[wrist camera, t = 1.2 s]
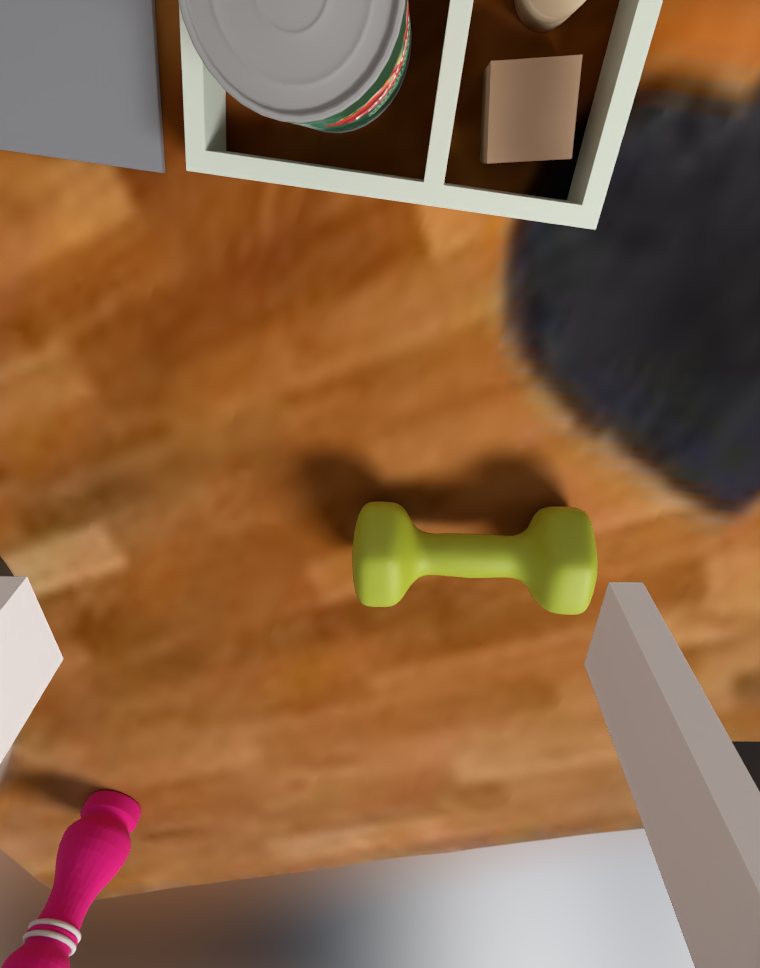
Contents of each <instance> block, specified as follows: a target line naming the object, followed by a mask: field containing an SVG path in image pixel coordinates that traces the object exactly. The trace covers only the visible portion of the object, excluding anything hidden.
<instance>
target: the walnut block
mask: <svg viewBox="0 0 760 968" xmlns="http://www.w3.org/2000/svg"><path fill="white" fill-rule="evenodd" d="M582 56H583V55H569V56H554V57H540V58H526V59H512V60H498V61H491V62H490V63H489V64H488V66H487V67H486V68H485V70H484V71H483V82H482V112H481V142H480V163H486V164H489V163H506V162H524V161H542V160H560V159H572V152H573V142H574V133H575V123H576V113H577V104H578V94H579V85H580V75H581V65H582Z"/></svg>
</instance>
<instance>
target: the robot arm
mask: <svg viewBox="0 0 760 968" xmlns="http://www.w3.org/2000/svg"><path fill="white" fill-rule="evenodd" d="M62 660H63V657H62V654H61V652H60V650H59V648H58V645H57V643H56V641H55V639H54V636H53V634H52V632H51V630H50V627H49V625H48V623H47V621H46V618H45V616H44V614H43V612H42V609H41V607H40V605H39V603H38V600H37V598H36V596H35V594H34V591H33V589H32V587H31V585H30V582H29V580H28V578H27V577H13V575H12V573H11V572H10V570H9V569H8V567H7V566H6V565H5V563H4V562H3V561H2V560H1V559H0V764H1V762H2V760H3V759H4V757H5V755H6V754H7V752H8V750H9V749H10V747H11V745H12V744H13V742H14V740H15V739H16V737H17V735H18V734H19V732H20V730H21V729H22V727H23V725H24V724H25V722H26V720H27V719H28V717H29V715H30V714H31V712H32V710H33V709H34V707H35V705H36V704H37V702H38V700H39V699H40V697H41V695H42V694H43V692H44V690H45V689H46V687H47V685H48V684H49V682H50V680H51V679H52V677H53V675H54V674H55V672H56V670H57V669H58V667H59V665H60V664H61V662H62ZM584 665H585V668H586V670H587V673H588V676H589V679H590V681H591V684H592V687H593V690H594V692H595V695H596V698H597V700H598V703H599V706H600V709H601V711H602V714H603V717H604V720H605V722H606V725H607V728H608V731H609V733H610V736H611V739H612V742H613V744H614V747H615V750H616V752H617V755H618V758H619V761H620V763H621V766H622V769H623V772H624V774H625V777H626V780H627V783H628V785H629V788H630V791H631V793H632V796H633V799H634V802H635V804H636V807H637V810H638V813H639V815H640V818H641V821H642V824H643V826H644V829H645V832H646V835H647V837H648V840H649V842H650V845H651V848H652V851H653V854H654V856H655V859H656V862H657V865H658V867H659V870H660V873H661V876H662V878H663V881H664V884H665V886H666V889H667V892H668V895H669V897H670V900H671V903H672V906H673V908H674V911H675V914H676V917H677V919H678V922H679V924H680V927H681V930H682V933H683V936H684V938H685V941H686V944H687V946H688V949H689V952H690V955H691V958H692V960H693V963H694V966H695V968H760V742H732V741H731V740H730V738H729V736H728V734H727V732H726V731H725V729H724V727H723V725H722V723H721V722H720V720H719V718H718V716H717V714H716V713H715V711H714V709H713V707H712V705H711V704H710V702H709V700H708V698H707V697H706V695H705V693H704V691H703V689H702V688H701V686H700V684H699V682H698V680H697V679H696V677H695V675H694V673H693V671H692V670H691V668H690V666H689V664H688V662H687V661H686V659H685V657H684V655H683V653H682V652H681V650H680V648H679V646H678V645H677V643H676V641H675V639H674V637H673V636H672V634H671V632H670V630H669V628H668V627H667V625H666V623H665V621H664V619H663V618H662V616H661V614H660V612H659V610H658V609H657V607H656V605H655V603H654V601H653V600H652V598H651V596H650V594H649V593H648V591H647V589H646V587H645V585H644V584H643V583H634V582H609V583H608V587H607V590H606V593H605V597H604V600H603V603H602V607H601V610H600V613H599V617H598V620H597V623H596V627H595V630H594V633H593V637H592V640H591V643H590V647H589V650H588V653H587V657H586V660H585V663H584Z"/></svg>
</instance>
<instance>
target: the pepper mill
mask: <svg viewBox="0 0 760 968" xmlns="http://www.w3.org/2000/svg"><path fill="white" fill-rule="evenodd" d="M140 815H141V808H140V806H139V804H138V803H137V802H136V801H135V800H134V799H132V798H131V797H129V796H127V795H125V794H122V793H119V792H116V791H109V790H103V791H97V792H94V793H93V794H91V795H90V796H89V797H88V799H87V801H86V803H85V804H84V806H83V808H82V810H81V819H79V820H78V821H76V822H74V823H73V824H72V825H70V826H69V827H68V828H67V830H66V831H65V833H64V835H63V838H62V840H61V842H60V844H59V849H58V853H57V859H56V870H55V878H54V884H53V888H52V892H51V894H50V897H49V899H48V901H47V903H46V905H45V908H44V909H43V911H42V913H41V914H40V916H39V918H38V919H37V920H34V921H32V922H31V923H30V924H29V927H28V931H27V933H26V934H25V935H24V936H23V943H24V944H23V946H21V947H20V948H19V949H17V950H16V951H14V952H13V953H12V954H11V955H10V956H9V957H8V958H7V959H6V960H5V962H4V964H3V965H2V967H1V968H70V963H69V956H71V955H72V954H73V953H74V952H75V951H76V946H77V943H78V942H79V941H80V940H81V934H80V932H79V930H80V928H81V925H82V922H83V919H84V916H85V914H86V912H87V910H88V908H89V906H90V904H91V903H92V902H93V900H94V899H95V897H96V896H97V894H98V893H99V892H100V891H101V890H102V889H103V888H104V887H105V886H106V884H107V883H108V882H109V881H110V880H111V879H112V878H113V877H114V876H115V875H116V874H117V872H118V871H119V870H120V868H121V867H122V865H123V864H124V862H125V860H126V858H127V856H128V855H129V853H130V849H131V840H130V836H129V833H131V832H132V831H133V830H134V829H135V827H136V825H137V822H138V820H139V818H140Z"/></svg>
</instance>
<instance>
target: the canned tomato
mask: <svg viewBox="0 0 760 968" xmlns="http://www.w3.org/2000/svg"><path fill="white" fill-rule="evenodd" d="M178 2H179V6H180V10H181V14H182V18H183V21H184V24H185V26H186V29H187V31H188V34H189V36H190V39H191V41H192V44H193V46H194V48H195V49H196V51H197V53H198V54H199V56H200V58H201V60H202V61H203V63H204V65H205V66H206V68H207V70H208V71H209V72H210V73H211V74H212V76H213V77H214V78H215V79H216V80H217V82H218V83H219V84H220V85H221V86H222V88H223V89H224V90H226V91H227V92H228V93H229V94H230V95H231V96H233V97H234V98H235V99H236V100H237V101H239V102H240V103H241V104H242V105H244V106H246V107H247V108H249V109H251V110H253V111H255V112H256V113H258V114H260V115H262V116H265V117H268V118H272V119H275V120H278V121H281V122H289V123H293V124H297V125H301V126H304V127H308V128H312V129H315V130H318V131H321V132H325V133H345V132H351V131H354V130H357V129H359V128H362V127H364V126H367V125H368V124H369V123H371V122H372V121H374V120H375V119H377V118H378V117H379V116H380V115H381V114H382V113H383V112H384V111H385V110H386V109H387V108H388V107H389V106H390V104H391V103H392V101H393V100H394V98H395V97H396V95H397V93H398V92H399V90H400V88H401V85H402V83H403V80H404V78H405V76H406V73H407V68H408V64H409V60H410V55H411V42H412V32H411V20H410V13H409V4H408V0H178Z"/></svg>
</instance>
